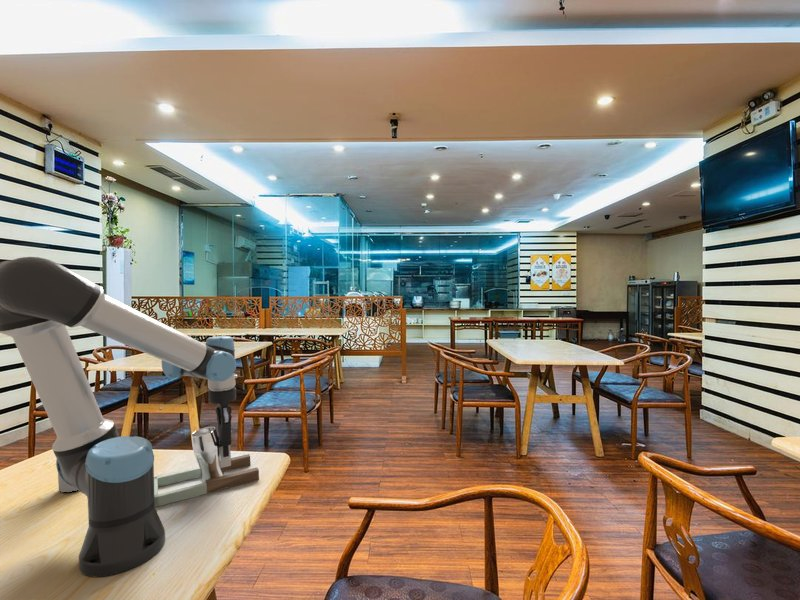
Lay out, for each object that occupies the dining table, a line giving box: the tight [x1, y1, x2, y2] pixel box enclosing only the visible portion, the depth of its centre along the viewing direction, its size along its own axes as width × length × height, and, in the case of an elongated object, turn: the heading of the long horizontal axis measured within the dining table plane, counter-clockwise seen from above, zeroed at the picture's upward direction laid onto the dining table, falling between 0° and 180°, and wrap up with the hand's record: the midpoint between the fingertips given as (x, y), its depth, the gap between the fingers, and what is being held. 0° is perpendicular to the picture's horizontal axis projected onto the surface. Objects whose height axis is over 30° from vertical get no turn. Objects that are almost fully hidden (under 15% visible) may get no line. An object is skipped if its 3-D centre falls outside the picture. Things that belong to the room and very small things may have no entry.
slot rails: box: [206, 453, 260, 494], centre depth 119 cm, size 14×14×3 cm
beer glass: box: [190, 426, 225, 483], centre depth 116 cm, size 7×7×15 cm
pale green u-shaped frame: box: [154, 466, 208, 508], centre depth 112 cm, size 14×13×2 cm
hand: (225, 465), depth 119 cm, fingers closed
